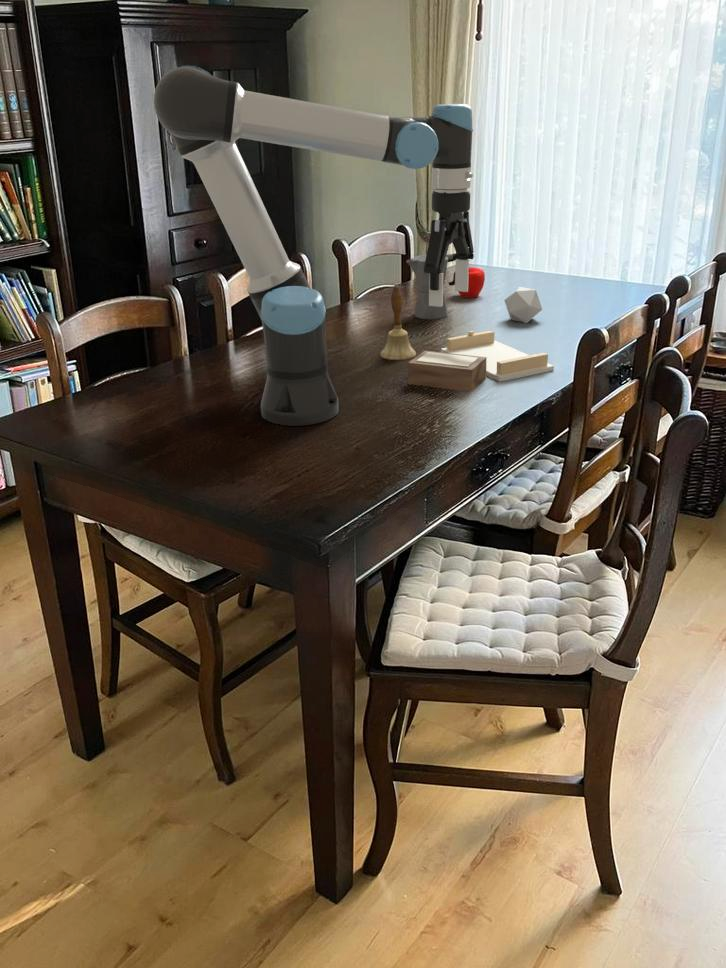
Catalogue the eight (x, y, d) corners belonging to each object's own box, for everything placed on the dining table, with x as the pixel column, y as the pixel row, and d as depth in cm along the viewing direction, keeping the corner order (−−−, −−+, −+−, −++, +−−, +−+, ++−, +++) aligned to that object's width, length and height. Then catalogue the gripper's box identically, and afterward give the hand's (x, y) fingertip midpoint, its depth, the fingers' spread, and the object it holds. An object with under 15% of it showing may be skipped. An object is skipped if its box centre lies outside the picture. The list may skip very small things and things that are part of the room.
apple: (453, 292, 260) (453, 265, 256) (484, 292, 259) (484, 265, 255) (453, 300, 252) (453, 272, 248) (484, 300, 251) (485, 272, 247)
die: (548, 322, 230) (541, 286, 232) (536, 313, 222) (530, 275, 224) (516, 332, 234) (510, 296, 236) (504, 323, 226) (498, 286, 228)
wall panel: (499, 381, 188) (499, 361, 186) (440, 352, 208) (440, 334, 206) (553, 370, 193) (554, 351, 192) (491, 343, 213) (492, 325, 211)
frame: (471, 393, 183) (471, 368, 181) (408, 385, 189) (408, 361, 187) (485, 379, 190) (486, 356, 188) (424, 372, 196) (424, 349, 194)
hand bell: (413, 360, 203) (412, 290, 196) (377, 359, 205) (375, 290, 198) (418, 350, 210) (418, 282, 204) (383, 349, 212) (382, 281, 205)
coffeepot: (412, 321, 233) (411, 251, 225) (402, 313, 241) (401, 244, 233) (468, 316, 236) (469, 246, 228) (457, 307, 244) (457, 240, 236)
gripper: (444, 199, 163) (442, 314, 172) (491, 183, 183) (487, 286, 192) (406, 197, 167) (406, 310, 176) (457, 181, 186) (455, 283, 196)
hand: (449, 298), depth 184 cm, fingers open, 13 cm apart
